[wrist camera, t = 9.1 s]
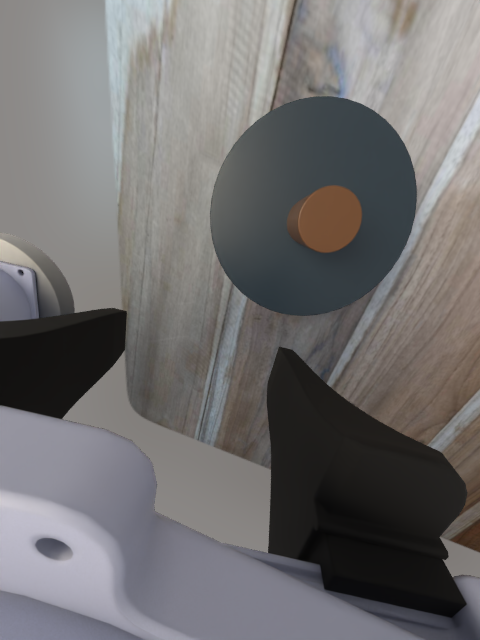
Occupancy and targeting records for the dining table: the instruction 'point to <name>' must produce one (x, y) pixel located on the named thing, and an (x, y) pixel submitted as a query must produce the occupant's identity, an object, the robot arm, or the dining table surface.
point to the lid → (313, 206)
